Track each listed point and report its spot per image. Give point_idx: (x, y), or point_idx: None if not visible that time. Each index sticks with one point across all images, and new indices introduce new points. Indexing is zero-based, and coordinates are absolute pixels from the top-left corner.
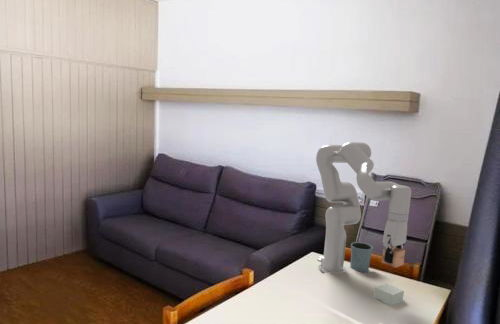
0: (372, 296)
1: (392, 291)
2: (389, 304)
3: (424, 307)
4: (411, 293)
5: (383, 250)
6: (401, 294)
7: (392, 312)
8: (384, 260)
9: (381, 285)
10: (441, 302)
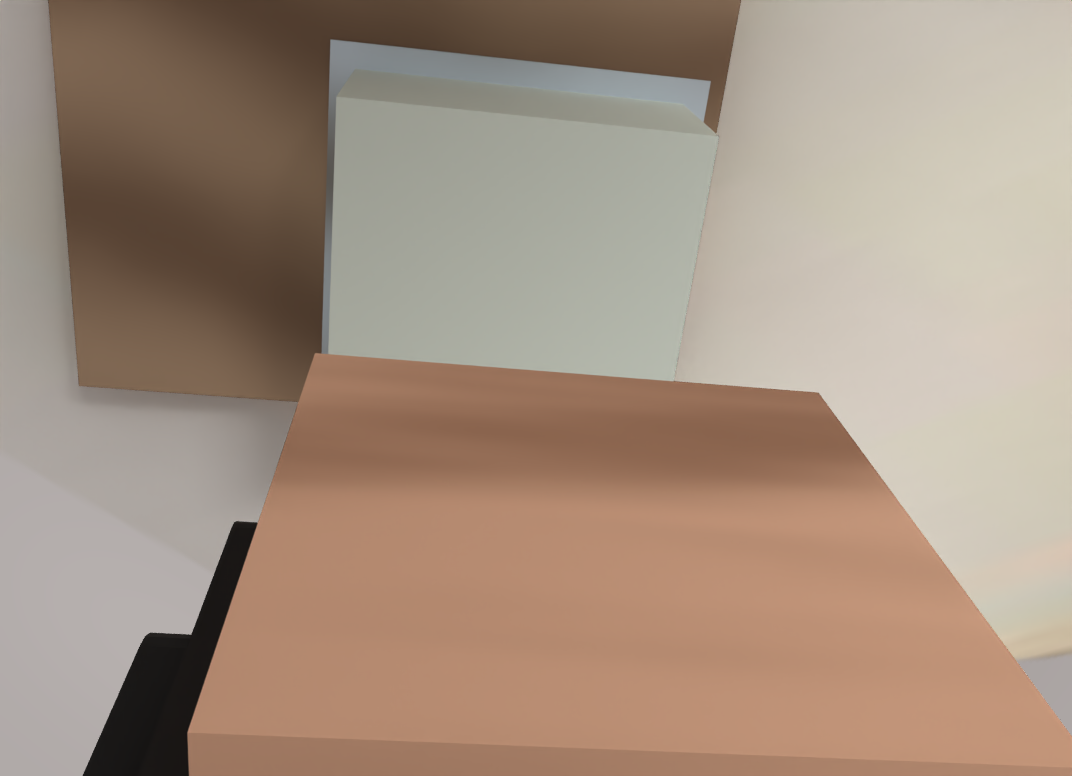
0: (344, 43)
1: None
2: (326, 346)
3: None
4: (1047, 326)
5: (216, 657)
6: None
7: (243, 414)
8: (234, 526)
9: (536, 132)
10: (1024, 643)
